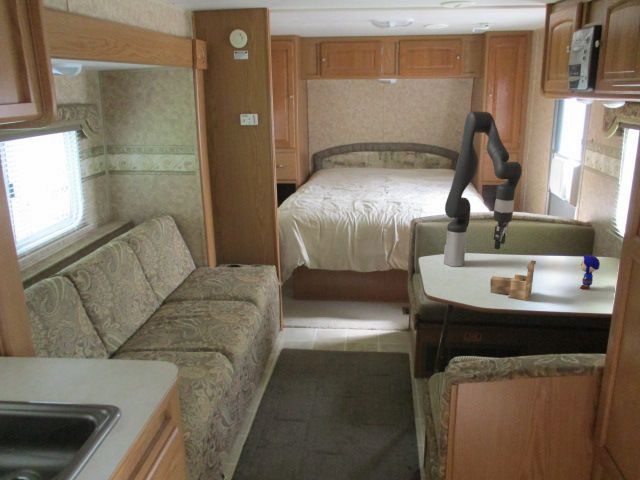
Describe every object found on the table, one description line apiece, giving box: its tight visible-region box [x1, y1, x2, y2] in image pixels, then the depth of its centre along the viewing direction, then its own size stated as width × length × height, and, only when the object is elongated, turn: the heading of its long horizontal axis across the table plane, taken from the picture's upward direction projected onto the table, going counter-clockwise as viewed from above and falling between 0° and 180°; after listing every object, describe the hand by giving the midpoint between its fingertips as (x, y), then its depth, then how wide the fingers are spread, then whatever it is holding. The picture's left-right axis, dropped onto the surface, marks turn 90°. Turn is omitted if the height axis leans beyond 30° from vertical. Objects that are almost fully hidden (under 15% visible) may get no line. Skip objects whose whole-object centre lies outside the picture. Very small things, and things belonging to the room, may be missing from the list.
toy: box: [579, 254, 601, 291], centre depth 236 cm, size 13×8×15 cm, turn 142°
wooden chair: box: [507, 259, 537, 302], centre depth 228 cm, size 8×9×15 cm
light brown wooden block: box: [490, 275, 524, 295], centre depth 232 cm, size 13×4×7 cm, turn 60°
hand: (499, 246), depth 233 cm, fingers open, 8 cm apart
